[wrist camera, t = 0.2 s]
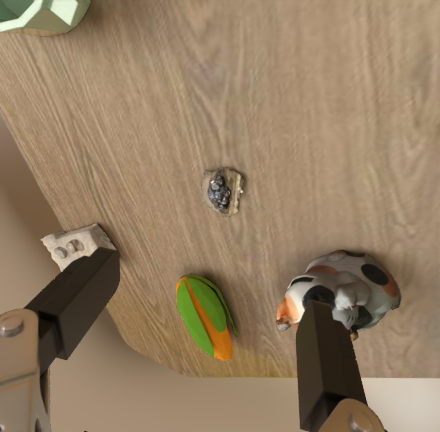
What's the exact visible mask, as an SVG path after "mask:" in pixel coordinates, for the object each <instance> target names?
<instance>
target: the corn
mask: <svg viewBox="0 0 440 432" xmlns="http://www.w3.org/2000/svg"><path fill="white" fill-rule="evenodd" d="M206 283H207V284H208V285H210V286H211V287H212V288H213V290H214V292H215V293H214V292H213V291H212V290H211V288H210V287H209V286H208V285H207V284H206ZM176 295H177V309H178V311H179V313H180V315H181V317H182V319H183V321H184V323H185V325H186V327H187V329H188V331H189V333H190V335H191V336H192V337H193V339H194V340H195V342H196V343H197V344H198V346H199V347H200V348H201V349H202V350H204V351H205V352H206V353H207V354H209V355H210V356H215V357H217V358H218V359H219V360H226V361H228V360H230V359H231V355H232V352H233V351H232V342H231V339H230V335H229V332H228V328H227V325H226V316H225V313H224V310H225V312H226V314H227V316H228V318H229V320H230V323H231V325H232V328H233V330H234V333H235V335H236V336H237V337H238V335H237V332H236V328H235V325H234V323H233V320H232V318H231V316H230V313H229V311H228V309H227V306H226V304H225V301H224V299H223V297H222V294H221V292H220V291H219V289H218V288H217V287H216V286H215V285H214V284H213V283H212V282H210V281H209V280H208V279H206V278H204V277H201V276H199V275H196V274H189V275H186V276H182V277H181V278H180V280H179V281H178V283H177V284H176ZM216 295H217V296H216ZM217 297H218V298H217ZM218 299H219V300H218ZM221 304H222V305H221ZM222 306H223V307H222ZM223 308H224V310H223Z"/></svg>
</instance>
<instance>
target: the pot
mask: <svg viewBox="0 0 440 432" xmlns="http://www.w3.org/2000/svg"><path fill="white" fill-rule="evenodd" d="M90 2H91V0H0V32H5V33H16V34H26V35H37V36H52V35H60V34H63V33H66V32H68V31H70V30H71V29H73V28H74V27H76V26H77V24H78V23H79V22H80V21H81V20H82V18H83V17H84V15H85V14H86V12H87V10H88V7H89V5H90Z"/></svg>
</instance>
